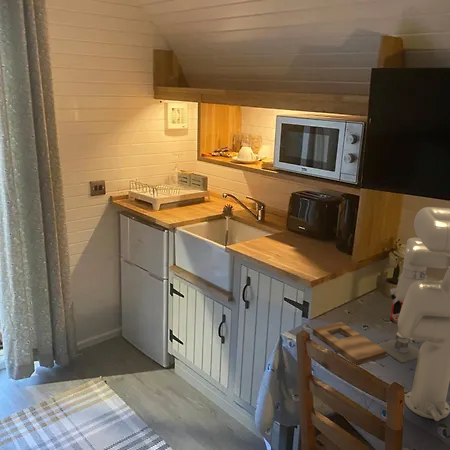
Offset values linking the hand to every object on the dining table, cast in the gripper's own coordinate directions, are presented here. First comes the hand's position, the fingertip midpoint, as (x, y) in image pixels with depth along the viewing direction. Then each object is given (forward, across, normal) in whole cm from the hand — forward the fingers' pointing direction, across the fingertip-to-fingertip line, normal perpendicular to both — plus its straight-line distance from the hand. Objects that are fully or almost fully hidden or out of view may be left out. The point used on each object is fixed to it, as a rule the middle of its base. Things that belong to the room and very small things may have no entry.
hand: (406, 318), depth 172 cm
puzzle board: (+13, +13, +14) cm, 23 cm away
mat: (+13, +1, -1) cm, 13 cm away
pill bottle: (+13, +1, -1) cm, 13 cm away
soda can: (+12, +19, -19) cm, 30 cm away
